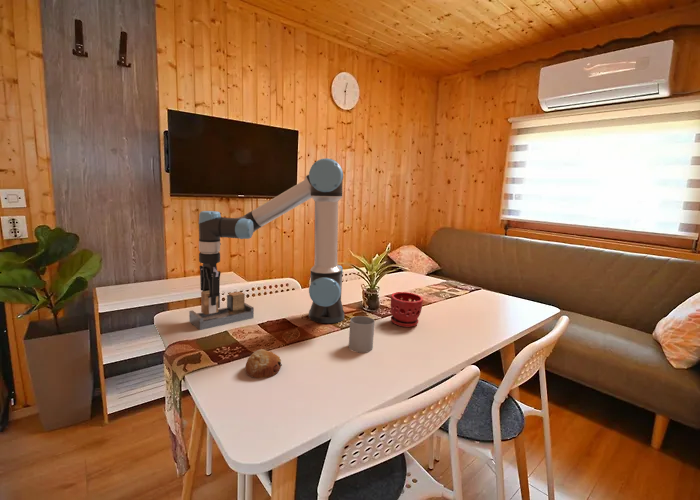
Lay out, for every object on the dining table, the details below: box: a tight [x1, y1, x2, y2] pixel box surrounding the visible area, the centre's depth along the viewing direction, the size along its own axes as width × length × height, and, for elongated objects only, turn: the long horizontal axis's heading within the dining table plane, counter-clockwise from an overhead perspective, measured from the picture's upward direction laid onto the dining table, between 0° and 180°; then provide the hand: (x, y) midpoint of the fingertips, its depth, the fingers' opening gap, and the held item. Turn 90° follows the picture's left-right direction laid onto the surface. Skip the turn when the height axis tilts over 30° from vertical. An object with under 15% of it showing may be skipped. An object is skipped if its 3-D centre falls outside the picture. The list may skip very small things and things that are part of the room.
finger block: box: [200, 291, 221, 315], centre depth 140 cm, size 4×6×8 cm
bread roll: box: [244, 349, 283, 379], centre depth 107 cm, size 10×10×8 cm
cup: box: [348, 315, 376, 354], centre depth 126 cm, size 8×8×10 cm
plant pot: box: [390, 291, 424, 328], centre depth 152 cm, size 13×13×12 cm
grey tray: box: [188, 291, 254, 331], centre depth 144 cm, size 10×22×10 cm, turn 134°
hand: (209, 311), depth 141 cm, fingers closed on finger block, 4 cm apart
